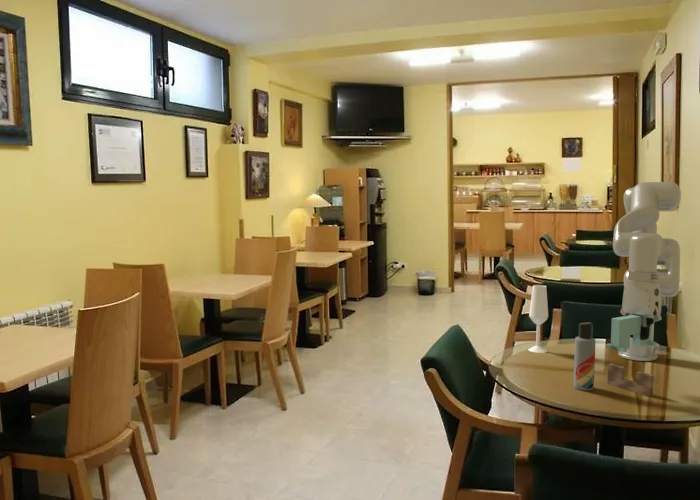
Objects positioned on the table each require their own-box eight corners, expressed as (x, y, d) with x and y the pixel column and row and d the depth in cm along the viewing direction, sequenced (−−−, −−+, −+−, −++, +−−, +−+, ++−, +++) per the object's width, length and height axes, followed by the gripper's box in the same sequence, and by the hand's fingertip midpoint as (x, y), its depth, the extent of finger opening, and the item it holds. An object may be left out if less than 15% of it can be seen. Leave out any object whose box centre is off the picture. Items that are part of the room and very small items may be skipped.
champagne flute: (531, 347, 233) (533, 284, 230) (549, 349, 229) (551, 285, 226) (525, 351, 227) (527, 286, 225) (543, 353, 223) (545, 288, 221)
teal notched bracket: (637, 341, 189) (638, 312, 188) (655, 345, 184) (657, 315, 183) (605, 347, 181) (606, 317, 180) (623, 352, 176) (624, 321, 175)
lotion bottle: (591, 392, 182) (594, 325, 180) (571, 388, 185) (573, 323, 183) (595, 386, 187) (597, 321, 185) (575, 383, 190) (578, 319, 188)
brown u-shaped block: (607, 383, 190) (608, 364, 189) (610, 382, 191) (611, 363, 190) (649, 396, 178) (650, 376, 177) (652, 395, 179) (653, 375, 178)
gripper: (676, 279, 177) (672, 342, 179) (625, 273, 191) (623, 331, 193) (660, 281, 174) (656, 345, 175) (610, 274, 188) (607, 334, 189)
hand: (639, 337), depth 184 cm, fingers closed on teal notched bracket, 2 cm apart
